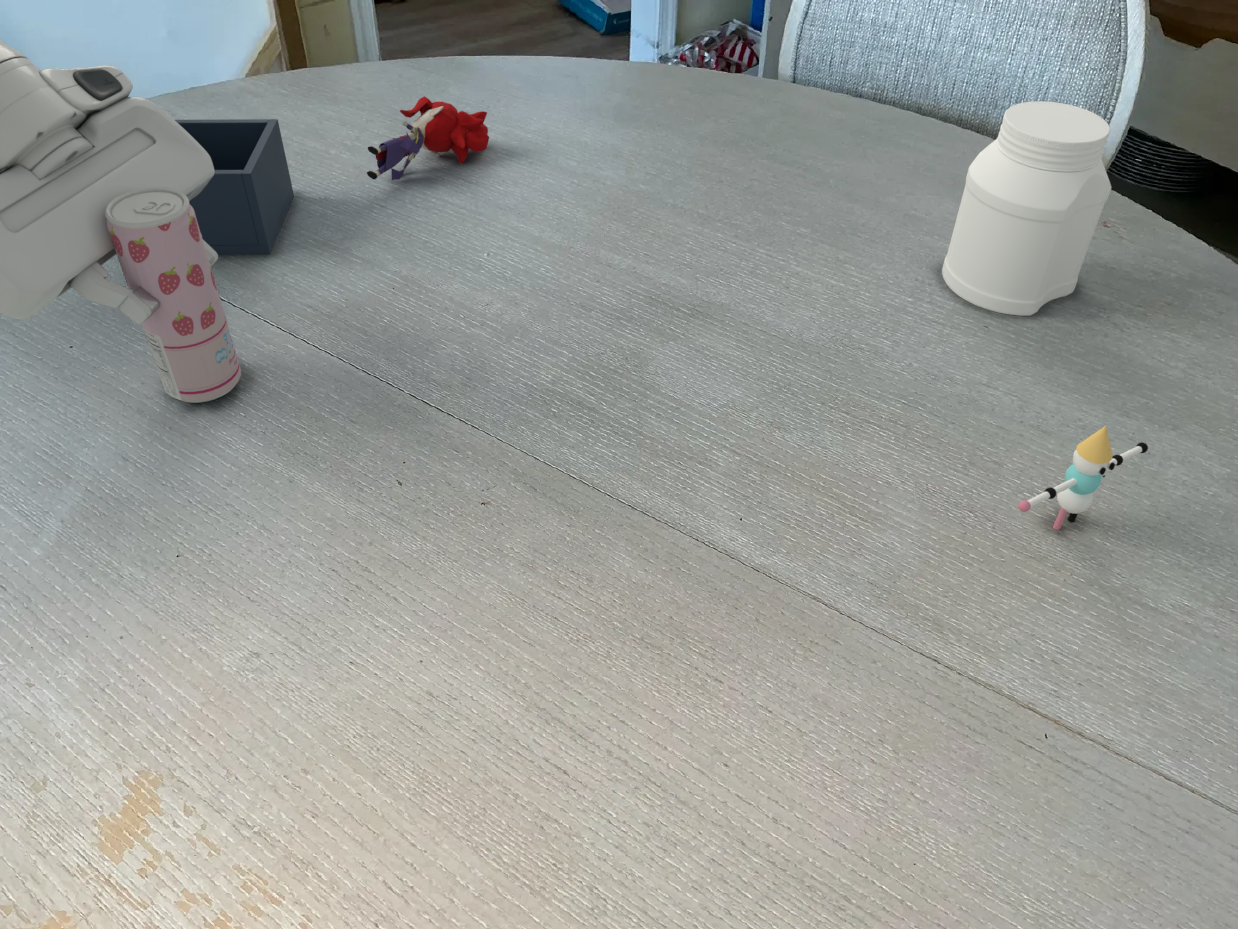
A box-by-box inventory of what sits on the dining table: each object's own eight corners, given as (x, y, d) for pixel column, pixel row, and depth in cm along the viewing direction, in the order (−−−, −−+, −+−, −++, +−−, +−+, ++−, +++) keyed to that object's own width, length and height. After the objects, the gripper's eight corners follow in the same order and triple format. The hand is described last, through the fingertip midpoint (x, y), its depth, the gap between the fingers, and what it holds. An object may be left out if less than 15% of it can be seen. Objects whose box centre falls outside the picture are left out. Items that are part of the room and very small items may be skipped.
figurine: (347, 176, 104) (438, 127, 113) (411, 213, 102) (499, 160, 112) (347, 120, 99) (443, 73, 109) (415, 157, 97) (506, 107, 107)
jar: (1012, 326, 86) (1067, 160, 76) (923, 278, 92) (963, 118, 82) (1089, 284, 92) (1150, 123, 82) (1001, 241, 97) (1048, 86, 87)
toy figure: (1017, 569, 65) (1058, 469, 60) (988, 545, 67) (1025, 445, 61) (1139, 505, 70) (1187, 406, 64) (1109, 483, 72) (1154, 386, 66)
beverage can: (243, 398, 77) (190, 218, 67) (163, 410, 75) (97, 229, 65) (241, 355, 81) (191, 180, 71) (166, 366, 79) (104, 190, 69)
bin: (142, 256, 93) (114, 174, 87) (177, 196, 101) (154, 119, 96) (270, 254, 93) (250, 173, 88) (294, 196, 102) (277, 118, 97)
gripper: (-97, 179, 58) (100, 350, 63) (132, 57, 73) (279, 203, 77) (-122, 236, 62) (65, 392, 67) (100, 109, 77) (242, 245, 81)
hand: (181, 290), depth 72 cm, fingers closed on beverage can, 5 cm apart
